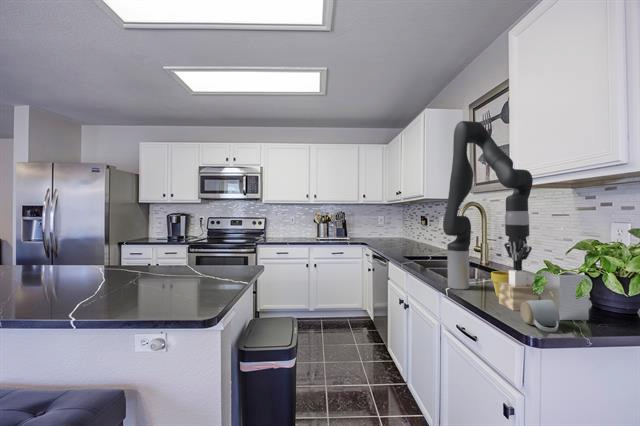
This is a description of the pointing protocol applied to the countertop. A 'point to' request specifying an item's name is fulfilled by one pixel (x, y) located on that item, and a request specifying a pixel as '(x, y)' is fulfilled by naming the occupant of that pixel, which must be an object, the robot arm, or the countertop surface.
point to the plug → (517, 278)
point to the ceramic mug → (541, 314)
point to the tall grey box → (566, 295)
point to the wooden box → (515, 295)
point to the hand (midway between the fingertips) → (517, 270)
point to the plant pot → (499, 279)
